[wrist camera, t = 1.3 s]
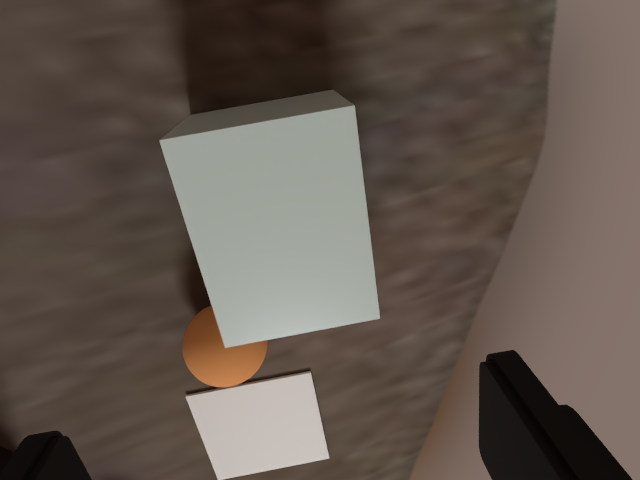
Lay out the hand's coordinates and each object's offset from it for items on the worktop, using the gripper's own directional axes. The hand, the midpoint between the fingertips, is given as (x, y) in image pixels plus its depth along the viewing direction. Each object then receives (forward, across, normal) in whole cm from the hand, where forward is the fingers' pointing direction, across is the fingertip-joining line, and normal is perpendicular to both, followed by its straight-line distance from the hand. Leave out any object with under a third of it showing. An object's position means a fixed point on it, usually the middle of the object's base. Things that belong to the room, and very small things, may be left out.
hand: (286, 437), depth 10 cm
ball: (+14, +5, +8) cm, 17 cm away
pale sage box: (+17, 0, -1) cm, 17 cm away
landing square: (+17, +5, +17) cm, 25 cm away
